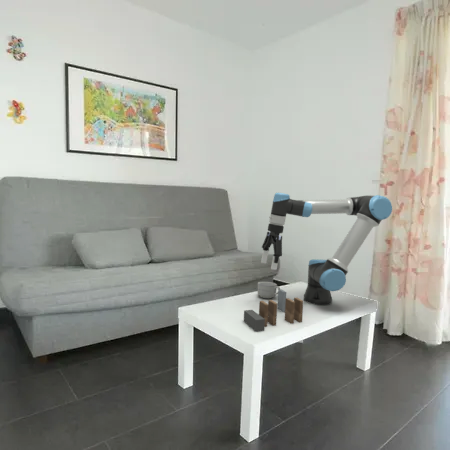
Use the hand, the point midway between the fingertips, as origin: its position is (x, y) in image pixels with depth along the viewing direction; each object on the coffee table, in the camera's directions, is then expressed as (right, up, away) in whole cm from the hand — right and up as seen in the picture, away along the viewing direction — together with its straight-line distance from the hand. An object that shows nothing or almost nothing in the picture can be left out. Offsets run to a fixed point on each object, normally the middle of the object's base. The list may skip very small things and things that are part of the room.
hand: (268, 266), depth 167 cm
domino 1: (-5, -23, -19) cm, 31 cm away
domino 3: (+6, -22, 0) cm, 23 cm away
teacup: (+3, -20, +20) cm, 29 cm away
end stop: (-9, -23, -21) cm, 33 cm away
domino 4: (+8, -23, -14) cm, 28 cm away
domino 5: (+12, -23, -12) cm, 29 cm away
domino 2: (-1, -23, -18) cm, 29 cm away
